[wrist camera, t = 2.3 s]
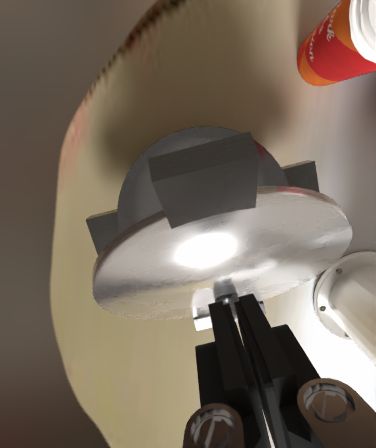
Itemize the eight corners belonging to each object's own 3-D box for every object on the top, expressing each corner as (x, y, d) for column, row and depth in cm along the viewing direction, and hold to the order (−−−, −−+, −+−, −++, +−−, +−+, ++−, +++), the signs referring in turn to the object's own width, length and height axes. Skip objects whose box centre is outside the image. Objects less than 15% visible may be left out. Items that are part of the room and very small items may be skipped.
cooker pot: (273, 110, 35) (311, 95, 25) (298, 258, 39) (339, 296, 29) (94, 158, 36) (60, 161, 25) (139, 297, 40) (125, 347, 30)
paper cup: (333, 4, 32) (443, -101, 19) (368, 66, 34) (493, 11, 20) (273, 53, 33) (336, -13, 20) (309, 111, 35) (392, 87, 21)
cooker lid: (425, 81, 11) (481, 136, 10) (312, 277, 30) (324, 306, 28) (-20, 198, 12) (-34, 267, 10) (139, 318, 30) (143, 349, 29)
